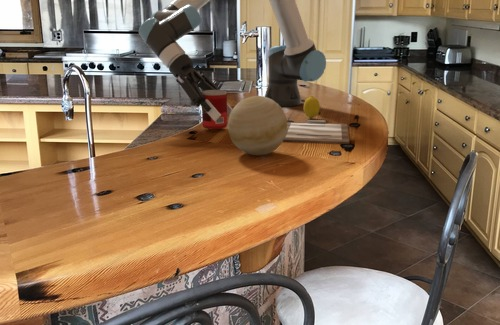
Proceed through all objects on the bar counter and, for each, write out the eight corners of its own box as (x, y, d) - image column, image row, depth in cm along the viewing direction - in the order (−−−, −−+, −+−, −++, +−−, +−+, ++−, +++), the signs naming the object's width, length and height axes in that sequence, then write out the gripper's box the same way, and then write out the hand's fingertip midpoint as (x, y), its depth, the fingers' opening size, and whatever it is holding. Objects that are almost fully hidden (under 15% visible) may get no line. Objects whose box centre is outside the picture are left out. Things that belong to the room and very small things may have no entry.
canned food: (230, 124, 166) (230, 90, 163) (221, 129, 159) (220, 93, 156) (208, 123, 168) (207, 89, 165) (198, 128, 161) (197, 92, 158)
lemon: (318, 120, 178) (319, 97, 176) (302, 120, 179) (302, 96, 177) (319, 117, 183) (320, 95, 181) (304, 117, 184) (304, 94, 182)
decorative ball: (298, 156, 132) (300, 97, 128) (248, 165, 124) (248, 102, 120) (265, 145, 144) (265, 90, 140) (217, 152, 136) (216, 94, 132)
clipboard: (285, 123, 173) (285, 119, 172) (347, 125, 170) (347, 121, 170) (277, 141, 148) (277, 136, 148) (349, 143, 145) (349, 138, 145)
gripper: (187, 66, 174) (231, 117, 172) (151, 72, 156) (200, 130, 154) (200, 50, 170) (246, 102, 168) (165, 55, 152) (216, 113, 150)
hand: (224, 115), depth 161 cm, fingers closed on canned food, 8 cm apart
